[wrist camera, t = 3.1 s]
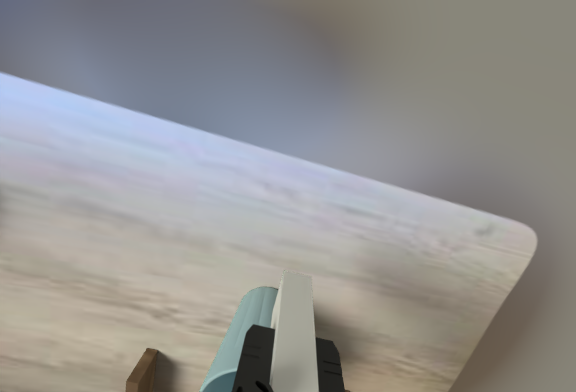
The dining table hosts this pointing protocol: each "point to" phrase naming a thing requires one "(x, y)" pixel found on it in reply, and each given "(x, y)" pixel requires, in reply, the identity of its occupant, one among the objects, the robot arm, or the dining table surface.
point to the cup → (239, 338)
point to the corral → (144, 373)
